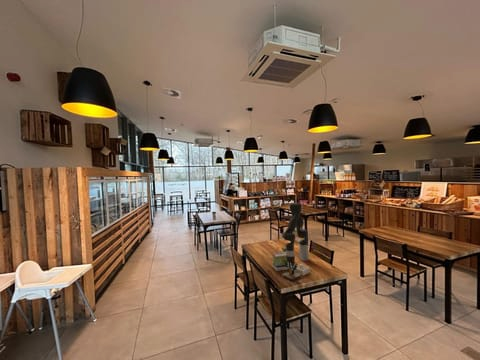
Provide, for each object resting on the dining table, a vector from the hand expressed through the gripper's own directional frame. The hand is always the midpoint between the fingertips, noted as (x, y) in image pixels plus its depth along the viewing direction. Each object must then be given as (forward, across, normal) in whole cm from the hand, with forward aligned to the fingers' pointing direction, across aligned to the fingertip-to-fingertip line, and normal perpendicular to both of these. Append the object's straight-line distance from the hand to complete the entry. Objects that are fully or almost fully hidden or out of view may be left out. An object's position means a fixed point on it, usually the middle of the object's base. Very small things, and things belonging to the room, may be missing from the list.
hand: (291, 273), depth 185 cm
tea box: (+4, -19, +8) cm, 21 cm away
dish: (+4, 0, +15) cm, 15 cm away
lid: (+2, 0, 0) cm, 2 cm away
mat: (+4, 0, 0) cm, 4 cm away
